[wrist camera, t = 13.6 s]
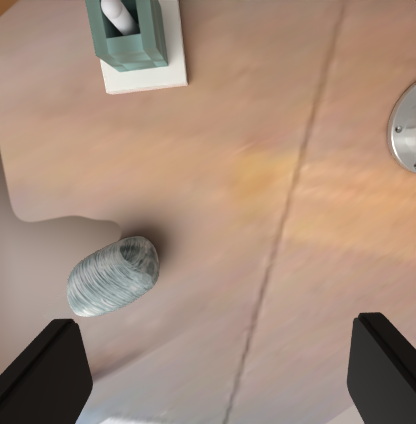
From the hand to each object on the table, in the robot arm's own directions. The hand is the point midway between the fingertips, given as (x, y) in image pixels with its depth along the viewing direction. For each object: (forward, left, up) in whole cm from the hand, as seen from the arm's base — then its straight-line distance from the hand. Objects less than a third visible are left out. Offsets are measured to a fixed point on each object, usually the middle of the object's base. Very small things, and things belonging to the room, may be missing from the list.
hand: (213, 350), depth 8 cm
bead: (+7, -19, -26) cm, 33 cm away
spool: (+16, +10, -28) cm, 33 cm away
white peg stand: (+8, -19, -28) cm, 34 cm away
